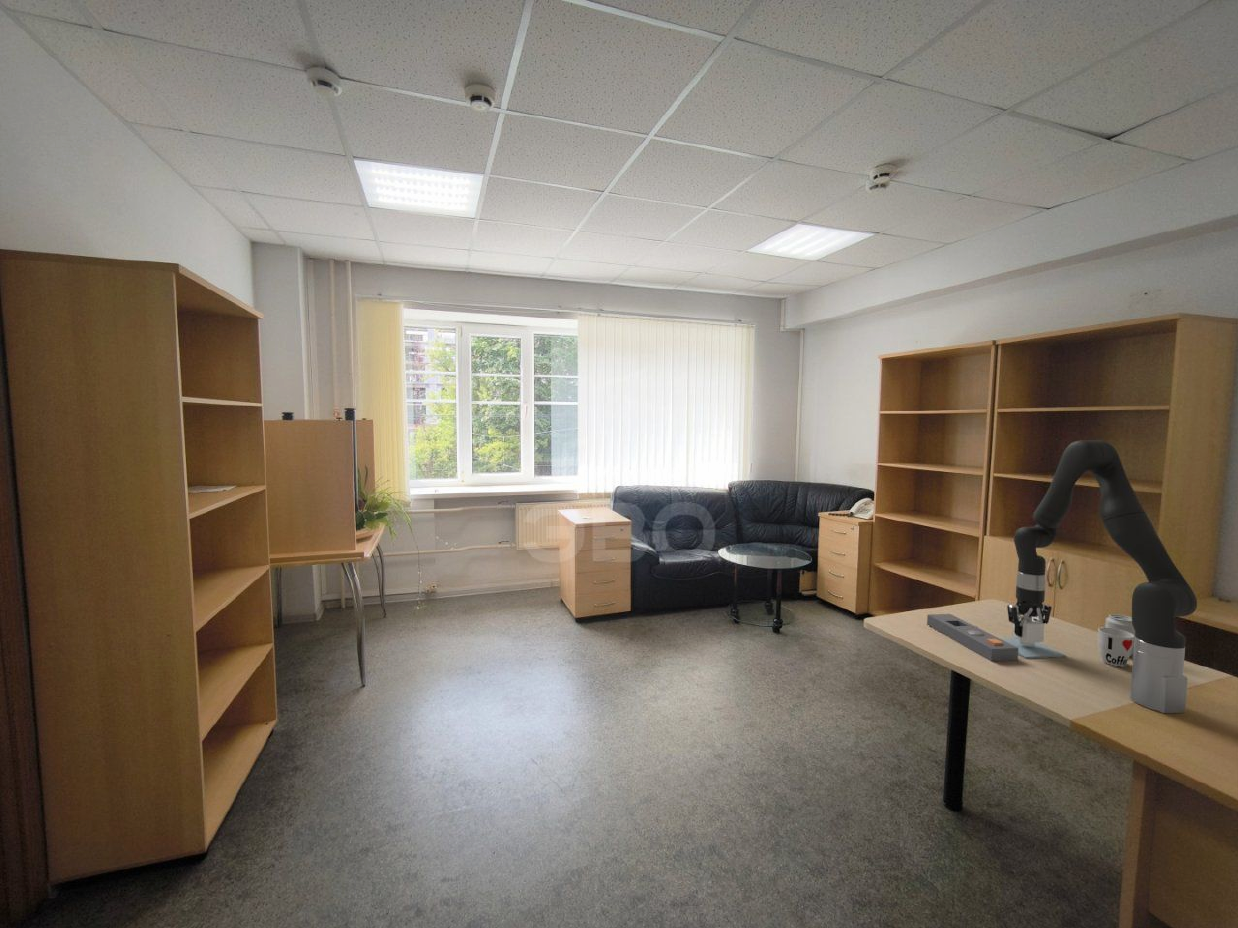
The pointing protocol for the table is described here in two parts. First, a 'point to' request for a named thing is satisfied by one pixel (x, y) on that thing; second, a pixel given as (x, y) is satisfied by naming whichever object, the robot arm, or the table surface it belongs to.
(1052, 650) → the mat
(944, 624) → the power strip
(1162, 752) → the table surface
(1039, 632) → the block
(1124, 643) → the cup
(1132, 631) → the can
